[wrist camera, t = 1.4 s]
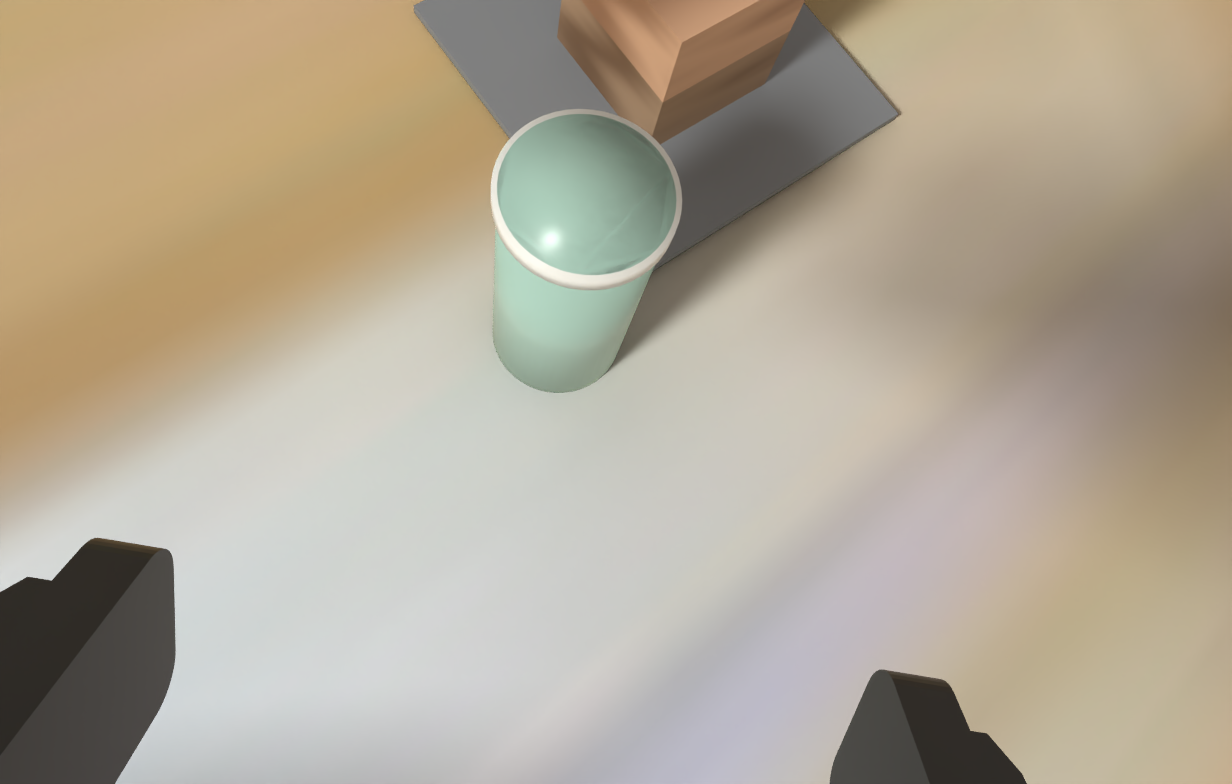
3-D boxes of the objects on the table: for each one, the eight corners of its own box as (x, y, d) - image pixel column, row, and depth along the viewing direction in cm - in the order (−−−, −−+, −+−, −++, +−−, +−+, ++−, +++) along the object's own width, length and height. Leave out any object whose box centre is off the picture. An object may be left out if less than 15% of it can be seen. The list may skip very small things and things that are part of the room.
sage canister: (461, 313, 32) (452, 163, 23) (573, 245, 34) (608, 79, 24) (539, 423, 31) (564, 316, 22) (651, 349, 33) (719, 219, 23)
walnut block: (557, 37, 36) (563, -22, 33) (675, -24, 37) (692, -86, 34) (647, 152, 35) (662, 102, 32) (764, 84, 36) (790, 30, 33)
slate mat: (414, 12, 36) (413, 5, 35) (690, -121, 39) (692, -128, 39) (623, 289, 33) (625, 285, 33) (894, 119, 37) (898, 113, 37)
